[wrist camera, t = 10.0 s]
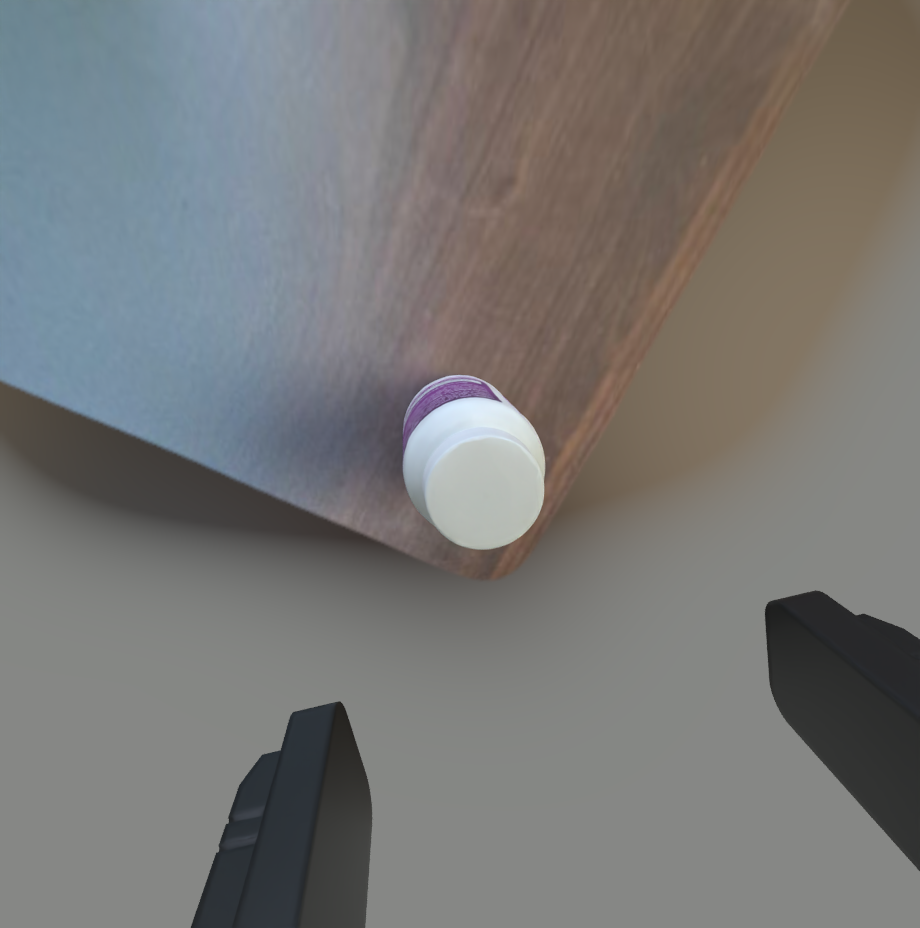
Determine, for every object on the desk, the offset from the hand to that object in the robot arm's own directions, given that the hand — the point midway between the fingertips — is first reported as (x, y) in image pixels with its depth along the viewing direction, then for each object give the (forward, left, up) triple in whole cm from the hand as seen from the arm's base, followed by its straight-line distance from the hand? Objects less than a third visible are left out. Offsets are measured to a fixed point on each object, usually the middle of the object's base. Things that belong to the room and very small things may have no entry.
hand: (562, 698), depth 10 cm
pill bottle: (0, 0, -20) cm, 20 cm away
